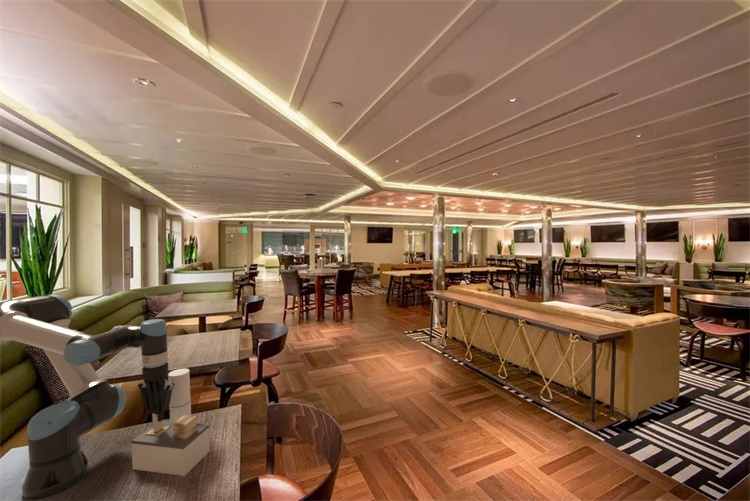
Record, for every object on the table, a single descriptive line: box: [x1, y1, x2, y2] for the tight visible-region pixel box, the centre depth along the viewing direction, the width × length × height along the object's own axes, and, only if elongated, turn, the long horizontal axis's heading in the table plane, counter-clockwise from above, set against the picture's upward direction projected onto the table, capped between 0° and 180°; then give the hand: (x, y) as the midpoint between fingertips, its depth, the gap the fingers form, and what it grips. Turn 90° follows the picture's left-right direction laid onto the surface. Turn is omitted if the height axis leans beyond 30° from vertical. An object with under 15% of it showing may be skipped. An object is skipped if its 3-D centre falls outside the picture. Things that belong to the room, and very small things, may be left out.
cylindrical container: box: [167, 368, 192, 421], centre depth 125 cm, size 7×7×25 cm
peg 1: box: [146, 426, 170, 437], centre depth 111 cm, size 5×5×8 cm
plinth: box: [130, 419, 211, 477], centre depth 110 cm, size 20×12×10 cm, turn 80°
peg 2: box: [173, 415, 198, 440], centre depth 109 cm, size 5×5×8 cm
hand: (158, 429), depth 111 cm, fingers closed
